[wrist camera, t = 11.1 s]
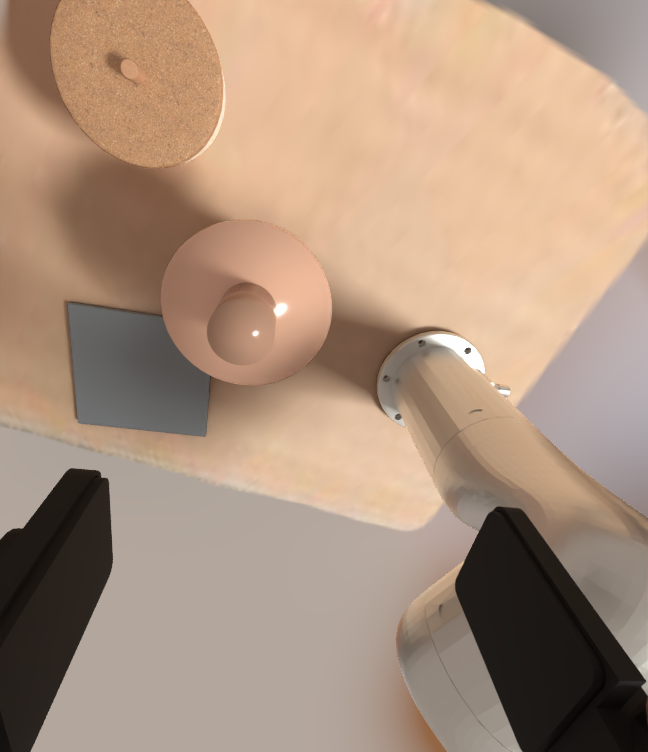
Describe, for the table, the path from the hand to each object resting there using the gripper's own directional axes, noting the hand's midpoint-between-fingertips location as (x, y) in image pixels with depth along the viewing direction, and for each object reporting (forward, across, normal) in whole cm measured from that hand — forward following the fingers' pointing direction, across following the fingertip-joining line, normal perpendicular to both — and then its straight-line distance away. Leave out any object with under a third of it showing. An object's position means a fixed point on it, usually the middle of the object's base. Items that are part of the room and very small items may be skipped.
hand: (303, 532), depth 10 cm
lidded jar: (+34, +12, -12) cm, 38 cm away
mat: (+33, +14, +14) cm, 39 cm away
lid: (+21, +3, +1) cm, 22 cm away
